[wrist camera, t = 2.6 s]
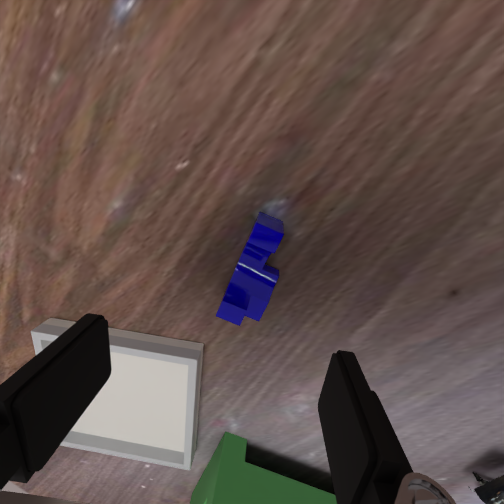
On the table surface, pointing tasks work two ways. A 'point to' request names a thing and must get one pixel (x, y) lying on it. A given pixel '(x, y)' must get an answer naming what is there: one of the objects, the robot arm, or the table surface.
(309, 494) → the green cradle stand
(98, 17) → the table surface
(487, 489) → the silver rectangular box
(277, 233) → the cable holder
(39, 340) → the tray
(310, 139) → the table surface
